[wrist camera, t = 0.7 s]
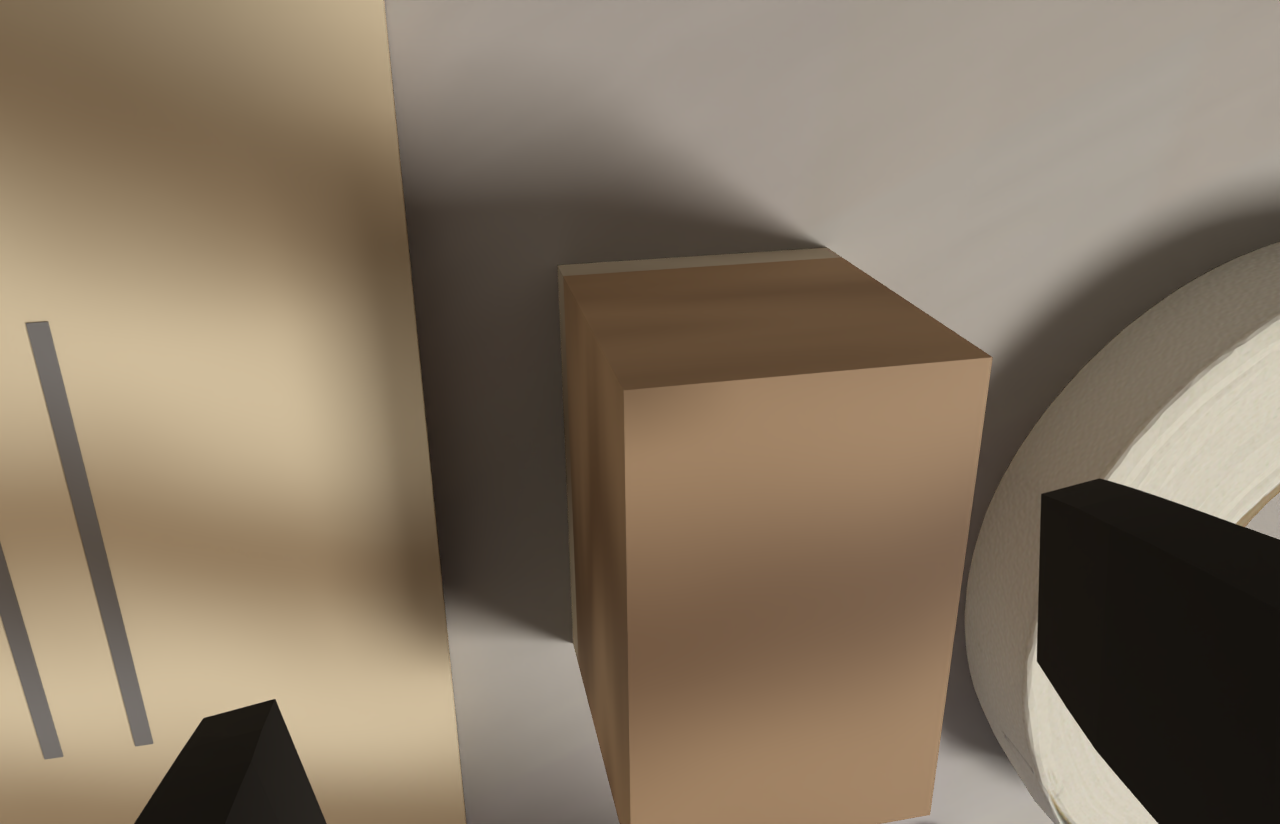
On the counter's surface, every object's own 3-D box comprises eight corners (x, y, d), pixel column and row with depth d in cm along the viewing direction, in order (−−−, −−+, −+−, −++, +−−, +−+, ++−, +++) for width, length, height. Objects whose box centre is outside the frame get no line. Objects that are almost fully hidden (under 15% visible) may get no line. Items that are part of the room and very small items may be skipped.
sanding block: (801, 609, 22) (930, 815, 17) (572, 640, 21) (631, 868, 16) (825, 246, 19) (992, 357, 14) (556, 264, 18) (623, 390, 13)
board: (468, 847, 23) (472, 892, 22) (-258, 972, 20) (-297, 1031, 19) (379, -47, 16) (378, -48, 14) (-772, -38, 13) (-881, -37, 12)
